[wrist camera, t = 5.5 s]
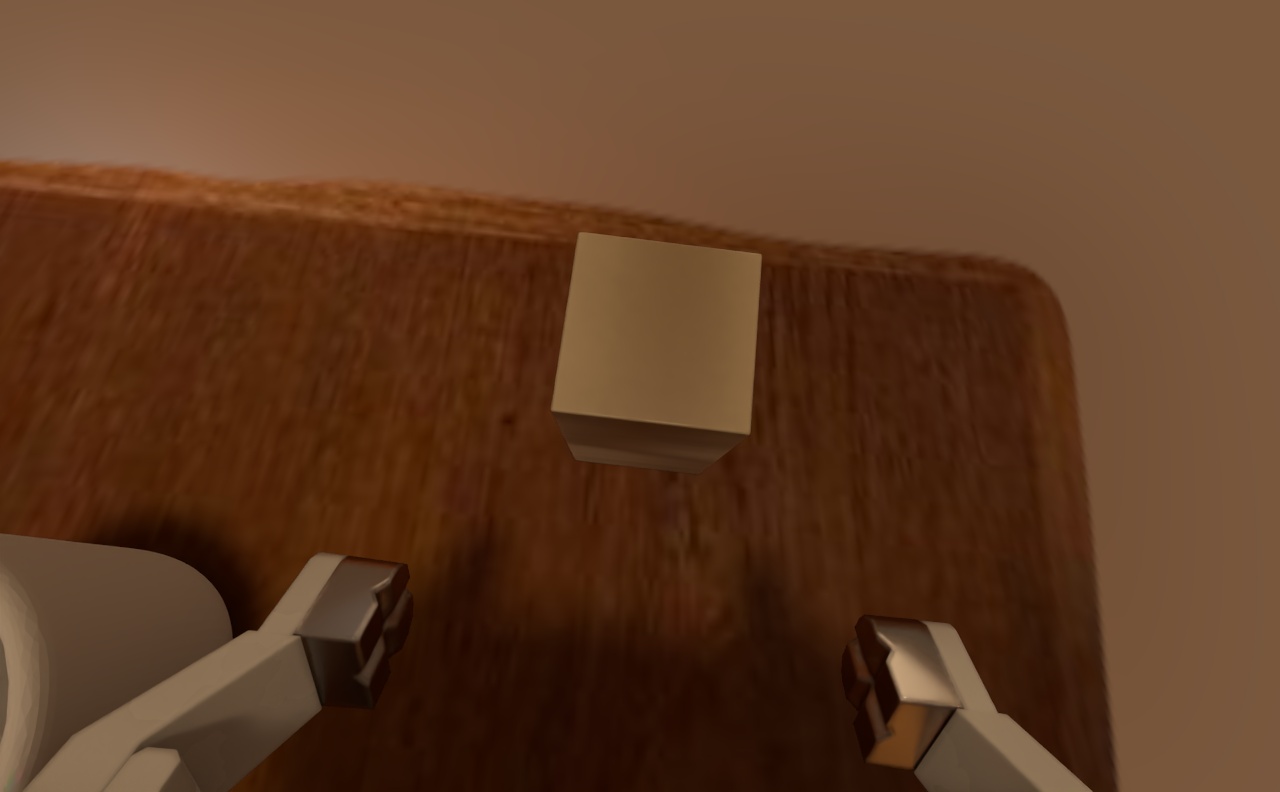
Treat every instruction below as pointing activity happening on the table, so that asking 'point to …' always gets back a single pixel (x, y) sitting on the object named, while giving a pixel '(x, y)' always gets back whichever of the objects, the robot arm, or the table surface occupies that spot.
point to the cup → (90, 638)
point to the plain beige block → (657, 353)
